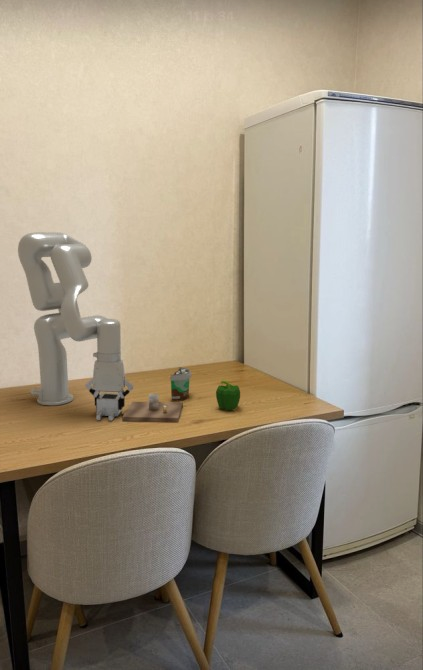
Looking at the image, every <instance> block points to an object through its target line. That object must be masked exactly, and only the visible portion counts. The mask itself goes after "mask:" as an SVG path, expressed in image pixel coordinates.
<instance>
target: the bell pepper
mask: <svg viewBox="0 0 423 670" xmlns="http://www.w3.org/2000/svg"><path fill="white" fill-rule="evenodd" d="M220 383H221V384H225V385H218V387H217V389H216V391H215V396H216V401H217V405H218V407H219V409H221V410H225V411H234V410H237V408H238V406H239V404H240V403H239V402H240V400H241V391H240V387H239V385H233V384H230V382H229V381H227V380H224V379H223V380H220Z"/></svg>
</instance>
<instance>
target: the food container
mask: <svg viewBox="0 0 423 670" xmlns="http://www.w3.org/2000/svg"><path fill="white" fill-rule="evenodd" d="M191 378H192V373H191V370H190V369H189V368H187V367H180V366H178V370H177V371H175V372H174V373H173V374H170V378H169V379H170V389H171V395H170V396H171V402H180V401H184V400H187V399H188V398H189V397H190V396H189V395H190V394H189V393H190V381H191V380H190V379H191Z"/></svg>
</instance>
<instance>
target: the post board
mask: <svg viewBox="0 0 423 670" xmlns="http://www.w3.org/2000/svg"><path fill="white" fill-rule="evenodd" d="M159 399H160V398H159V394H158V393H149V394H148V401H131V403H130V404H129V406H128V407H127V409H126V411H125V412H124V413H123V415H122V417H121V419H122V422H136V423H137V422H139V423H179V421H180V418H181V414H182V412H183V411H182V410H183V408H184V402H183V401H181V402H180V401H159ZM163 405H167V413H166V414H164V413H163Z"/></svg>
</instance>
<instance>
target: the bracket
mask: <svg viewBox="0 0 423 670" xmlns="http://www.w3.org/2000/svg"><path fill="white" fill-rule="evenodd" d="M99 395H100V396H99V397H98V398H97V409H96V421H101V419H102V418H103V416H105V417H107V416H108V421H114V419H115V418H116V417H119V416H120V414H121V411H122V410H119V398H120V395H119V394H118V392H100V394H99Z"/></svg>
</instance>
